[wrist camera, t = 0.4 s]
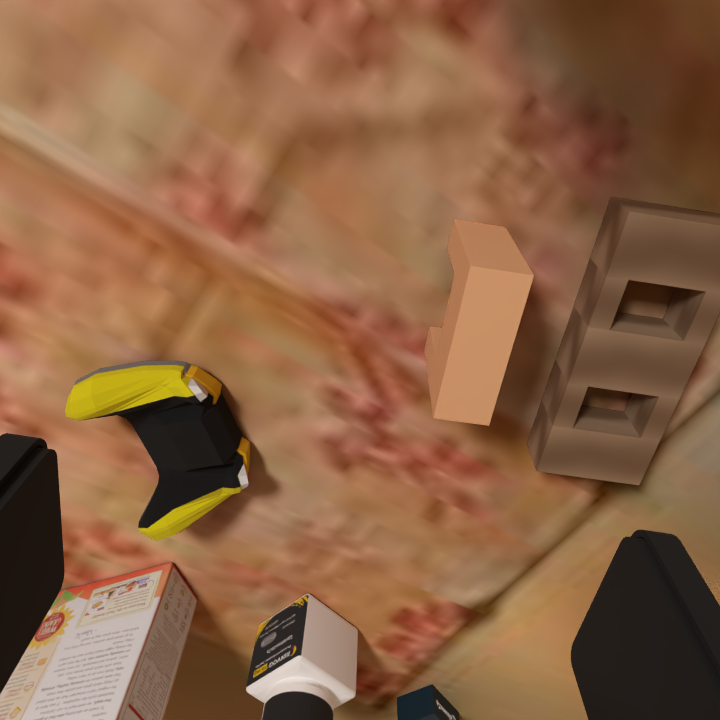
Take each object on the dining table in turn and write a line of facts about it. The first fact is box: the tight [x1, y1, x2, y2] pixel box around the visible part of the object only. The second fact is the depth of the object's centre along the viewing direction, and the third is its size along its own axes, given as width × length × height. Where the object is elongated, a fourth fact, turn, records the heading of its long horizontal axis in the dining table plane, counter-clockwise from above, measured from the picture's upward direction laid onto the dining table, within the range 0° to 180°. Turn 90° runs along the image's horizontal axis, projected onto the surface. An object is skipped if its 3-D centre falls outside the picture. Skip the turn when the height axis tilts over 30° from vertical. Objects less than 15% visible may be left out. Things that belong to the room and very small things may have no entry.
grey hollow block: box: [527, 197, 720, 485], centre depth 44 cm, size 20×8×4 cm, turn 172°
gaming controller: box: [66, 361, 250, 541], centre depth 48 cm, size 15×6×10 cm
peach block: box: [424, 219, 534, 426], centre depth 40 cm, size 10×4×9 cm, turn 172°
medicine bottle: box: [246, 593, 358, 720], centre depth 56 cm, size 7×7×12 cm
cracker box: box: [0, 562, 198, 720], centre depth 51 cm, size 14×6×21 cm, turn 109°
